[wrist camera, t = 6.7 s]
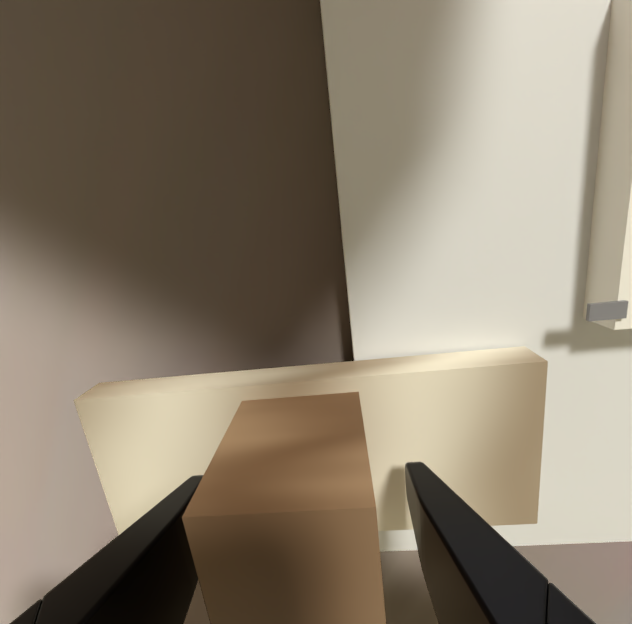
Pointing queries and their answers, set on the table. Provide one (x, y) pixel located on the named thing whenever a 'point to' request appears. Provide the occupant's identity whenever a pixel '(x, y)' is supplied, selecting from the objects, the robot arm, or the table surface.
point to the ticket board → (497, 216)
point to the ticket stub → (317, 467)
